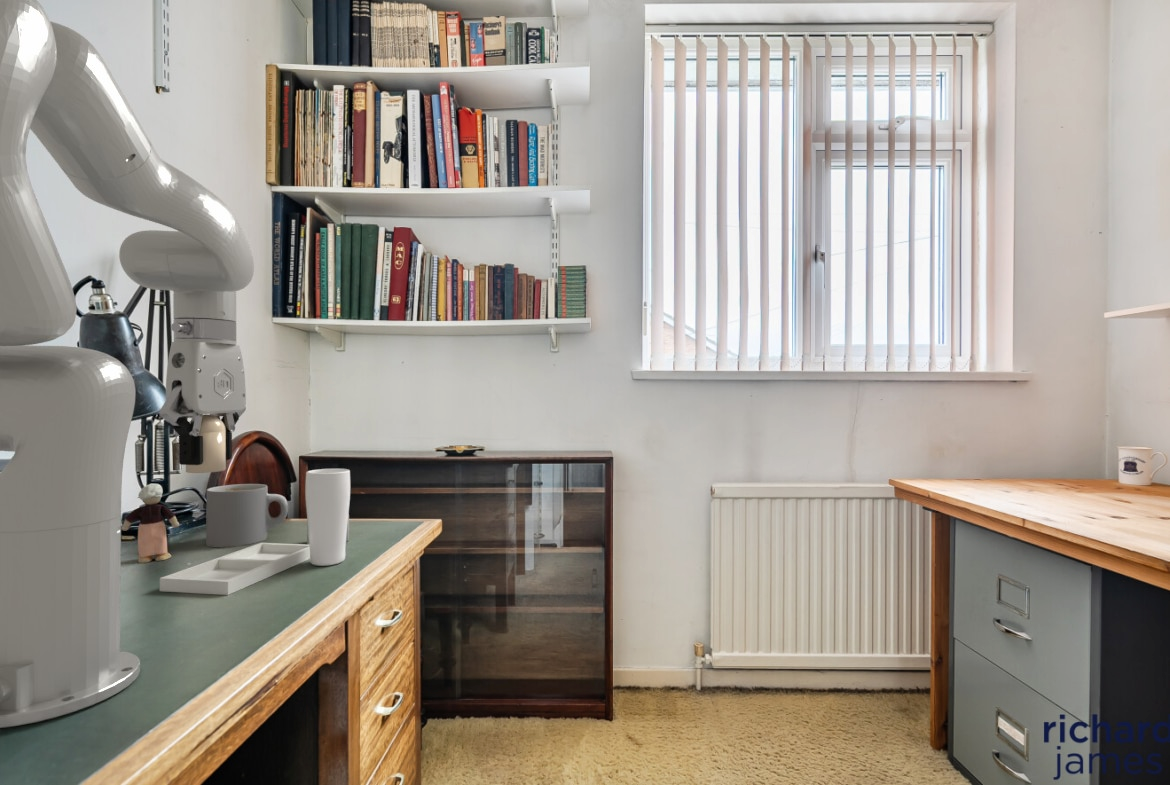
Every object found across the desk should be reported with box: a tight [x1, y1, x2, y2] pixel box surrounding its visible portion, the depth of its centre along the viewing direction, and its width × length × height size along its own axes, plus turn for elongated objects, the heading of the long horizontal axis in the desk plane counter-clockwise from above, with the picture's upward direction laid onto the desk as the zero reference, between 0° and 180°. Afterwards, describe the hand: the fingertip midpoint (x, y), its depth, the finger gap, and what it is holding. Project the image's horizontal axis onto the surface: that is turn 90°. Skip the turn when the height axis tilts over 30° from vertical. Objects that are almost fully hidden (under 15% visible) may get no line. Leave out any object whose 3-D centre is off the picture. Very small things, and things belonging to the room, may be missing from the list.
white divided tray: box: [159, 542, 310, 596], centre depth 91 cm, size 20×11×2 cm, turn 172°
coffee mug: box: [205, 483, 289, 548], centre depth 112 cm, size 13×10×10 cm
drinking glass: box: [304, 468, 351, 567], centre depth 96 cm, size 7×7×15 cm
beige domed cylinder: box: [185, 414, 227, 474], centre depth 84 cm, size 5×5×8 cm
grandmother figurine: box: [121, 483, 180, 564], centre depth 98 cm, size 8×4×13 cm, turn 130°
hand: (206, 460), depth 84 cm, fingers closed on beige domed cylinder, 4 cm apart
